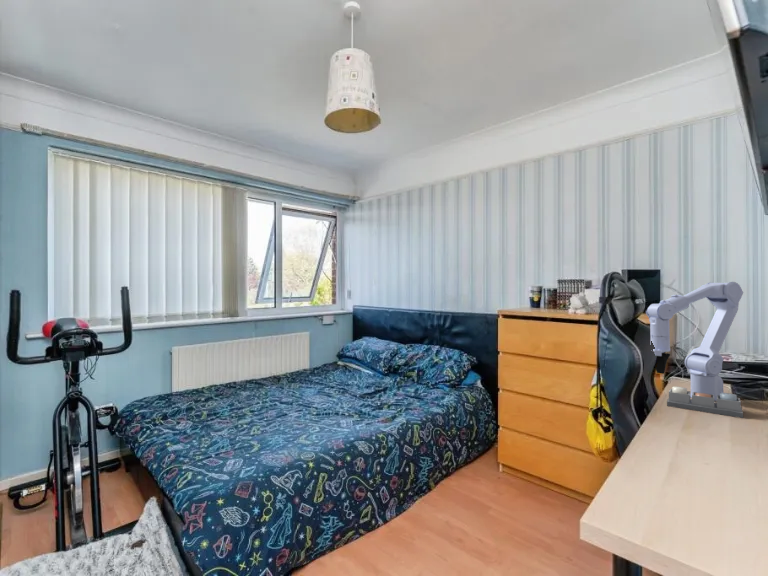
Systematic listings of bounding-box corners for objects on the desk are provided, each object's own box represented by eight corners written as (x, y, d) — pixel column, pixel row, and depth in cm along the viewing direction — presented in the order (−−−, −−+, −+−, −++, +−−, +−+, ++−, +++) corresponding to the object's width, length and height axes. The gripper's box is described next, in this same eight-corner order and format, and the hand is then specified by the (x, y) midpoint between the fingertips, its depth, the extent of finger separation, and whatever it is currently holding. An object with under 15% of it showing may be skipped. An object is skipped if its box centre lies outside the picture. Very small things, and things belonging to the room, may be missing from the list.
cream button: (671, 396, 128) (671, 388, 128) (672, 394, 131) (672, 385, 131) (686, 398, 125) (686, 390, 125) (687, 396, 128) (687, 387, 128)
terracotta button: (695, 403, 124) (695, 394, 124) (695, 400, 127) (695, 392, 127) (711, 405, 121) (711, 396, 121) (711, 403, 124) (711, 394, 124)
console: (667, 405, 127) (666, 392, 127) (669, 400, 134) (669, 387, 134) (743, 418, 114) (742, 403, 114) (741, 411, 121) (741, 397, 121)
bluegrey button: (720, 403, 120) (719, 394, 120) (720, 401, 123) (719, 392, 123) (737, 406, 117) (736, 396, 117) (736, 403, 120) (736, 394, 120)
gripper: (649, 333, 144) (649, 368, 144) (643, 337, 133) (644, 374, 133) (672, 335, 139) (672, 370, 139) (668, 338, 128) (669, 377, 128)
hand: (660, 373), depth 136 cm, fingers closed
